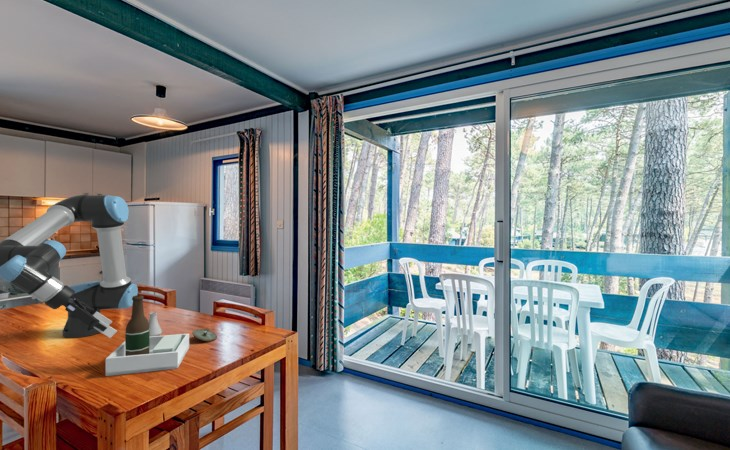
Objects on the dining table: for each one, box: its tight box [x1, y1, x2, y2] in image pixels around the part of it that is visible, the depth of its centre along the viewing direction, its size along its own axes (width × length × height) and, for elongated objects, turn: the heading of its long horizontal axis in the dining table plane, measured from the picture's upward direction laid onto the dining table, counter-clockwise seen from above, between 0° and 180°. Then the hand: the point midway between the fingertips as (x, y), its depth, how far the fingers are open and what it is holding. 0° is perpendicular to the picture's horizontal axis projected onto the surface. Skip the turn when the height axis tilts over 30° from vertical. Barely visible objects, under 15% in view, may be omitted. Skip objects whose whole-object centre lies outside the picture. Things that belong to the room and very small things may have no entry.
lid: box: [192, 327, 218, 342], centre depth 149 cm, size 11×10×5 cm
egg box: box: [153, 334, 182, 353], centre depth 128 cm, size 14×6×6 cm, turn 17°
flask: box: [148, 311, 163, 337], centre depth 154 cm, size 7×7×10 cm
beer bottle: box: [124, 294, 150, 356], centre depth 125 cm, size 8×8×24 cm
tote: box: [105, 333, 190, 377], centre depth 127 cm, size 20×22×6 cm
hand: (111, 329), depth 119 cm, fingers open, 13 cm apart
